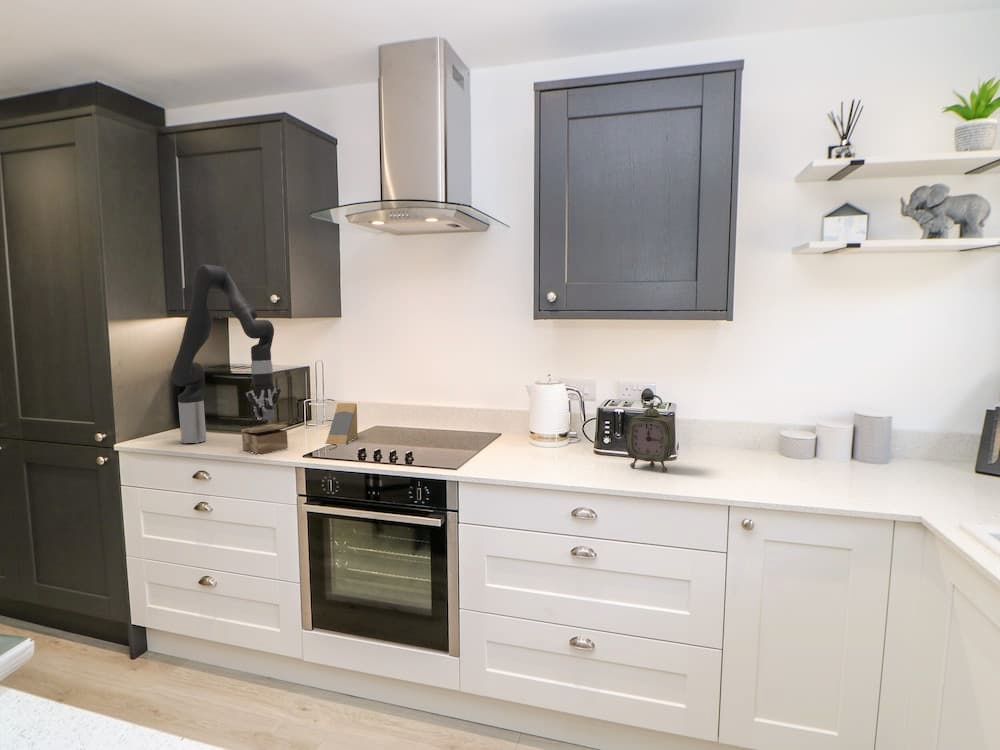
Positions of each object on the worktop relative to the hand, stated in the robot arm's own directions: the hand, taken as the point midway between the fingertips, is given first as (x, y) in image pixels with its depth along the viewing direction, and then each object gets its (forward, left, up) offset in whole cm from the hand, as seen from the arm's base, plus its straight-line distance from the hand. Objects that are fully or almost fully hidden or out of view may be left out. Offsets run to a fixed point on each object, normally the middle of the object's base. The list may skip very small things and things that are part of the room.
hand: (264, 415), depth 222 cm
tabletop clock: (+130, +65, -14) cm, 146 cm away
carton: (-1, 0, -14) cm, 14 cm away
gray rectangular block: (0, 0, -1) cm, 1 cm away
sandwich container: (+11, +27, -14) cm, 32 cm away
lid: (-1, 0, -6) cm, 6 cm away
